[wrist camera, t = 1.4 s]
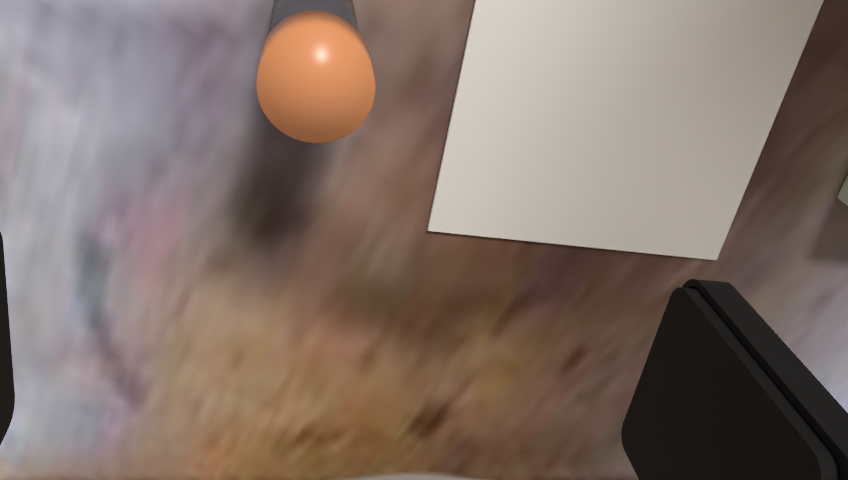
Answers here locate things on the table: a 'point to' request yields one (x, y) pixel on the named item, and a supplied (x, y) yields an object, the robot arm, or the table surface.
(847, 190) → the pen holder
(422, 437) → the table surface
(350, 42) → the marker
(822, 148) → the table surface
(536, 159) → the paper
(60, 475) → the table surface
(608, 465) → the table surface
